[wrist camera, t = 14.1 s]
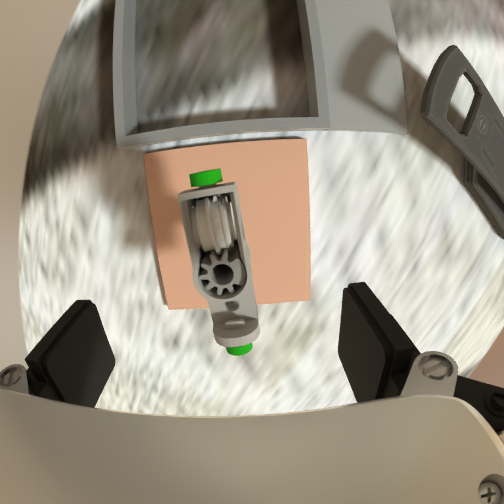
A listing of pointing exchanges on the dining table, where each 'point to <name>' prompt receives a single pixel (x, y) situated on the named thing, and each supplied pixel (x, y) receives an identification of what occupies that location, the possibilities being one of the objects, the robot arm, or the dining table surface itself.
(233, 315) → the mechanical component
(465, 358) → the dining table surface
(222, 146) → the rubber mat
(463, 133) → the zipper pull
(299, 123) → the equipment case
